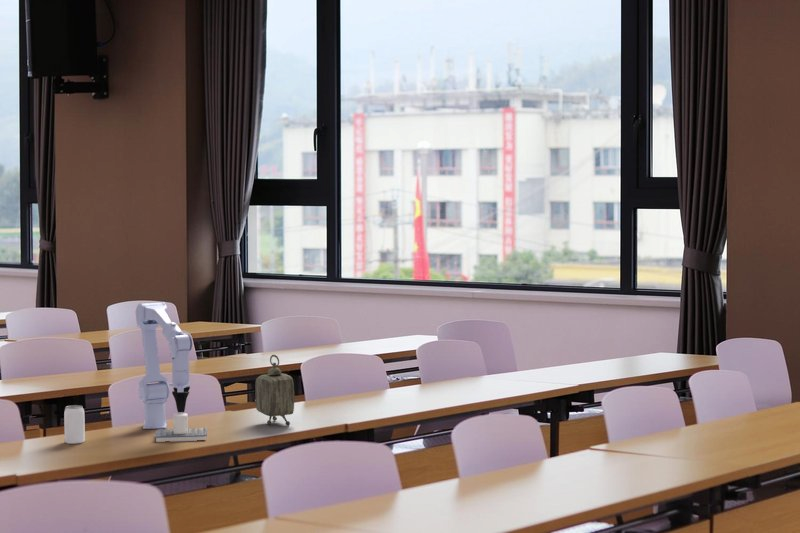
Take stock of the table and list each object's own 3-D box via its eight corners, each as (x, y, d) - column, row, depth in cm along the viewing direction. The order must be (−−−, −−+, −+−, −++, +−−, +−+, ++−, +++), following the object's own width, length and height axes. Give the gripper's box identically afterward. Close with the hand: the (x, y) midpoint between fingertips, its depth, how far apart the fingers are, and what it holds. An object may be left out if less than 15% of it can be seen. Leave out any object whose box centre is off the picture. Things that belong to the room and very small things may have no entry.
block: (174, 431, 399) (174, 413, 399) (187, 430, 400) (187, 413, 400) (173, 433, 395) (173, 416, 395) (187, 433, 396) (187, 415, 395)
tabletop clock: (294, 426, 417) (294, 356, 415) (271, 429, 412) (270, 358, 410) (276, 419, 429) (276, 351, 427) (254, 422, 424) (253, 353, 423)
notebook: (157, 436, 403) (157, 429, 403) (207, 435, 405) (207, 428, 405) (155, 444, 391) (155, 436, 391) (206, 442, 393) (206, 435, 393)
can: (79, 444, 387) (78, 408, 386) (61, 443, 388) (60, 408, 387) (88, 440, 393) (87, 405, 392) (70, 439, 394) (69, 404, 394)
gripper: (169, 367, 403) (170, 406, 404) (167, 373, 389) (168, 414, 390) (190, 366, 404) (191, 405, 405) (189, 373, 390) (190, 413, 391)
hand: (181, 410), depth 397 cm, fingers open, 7 cm apart
